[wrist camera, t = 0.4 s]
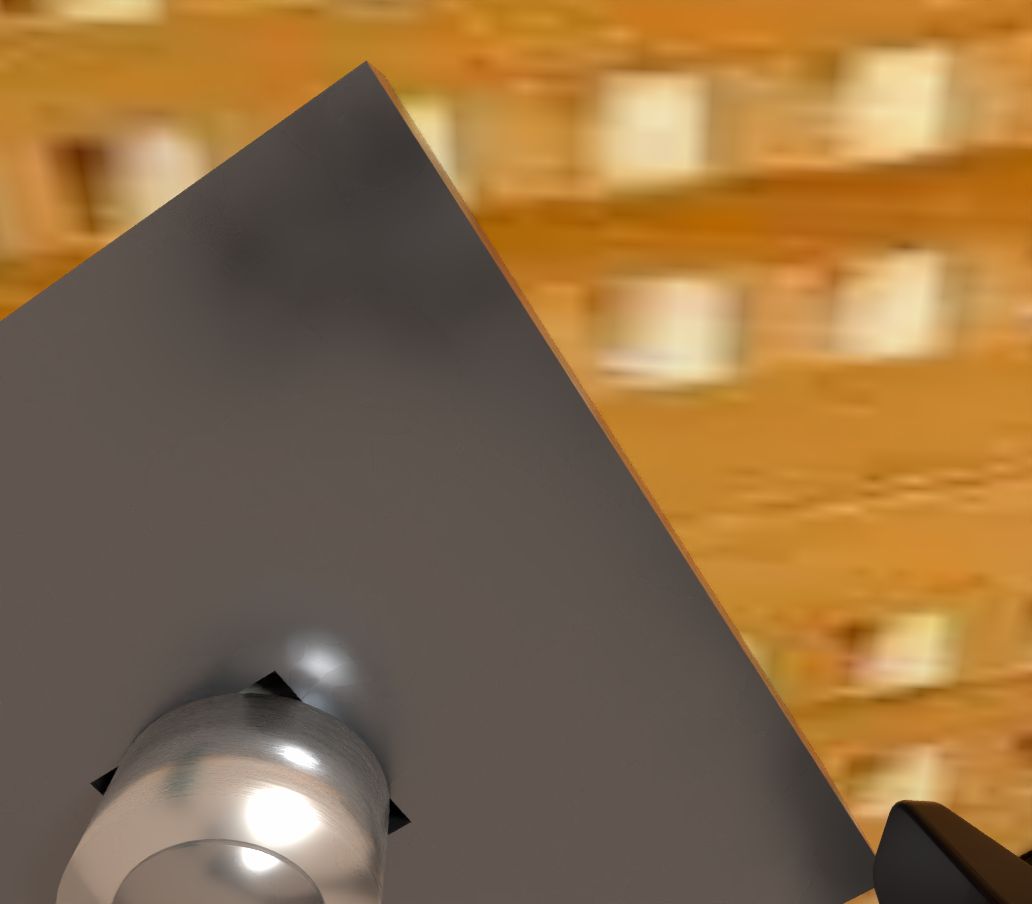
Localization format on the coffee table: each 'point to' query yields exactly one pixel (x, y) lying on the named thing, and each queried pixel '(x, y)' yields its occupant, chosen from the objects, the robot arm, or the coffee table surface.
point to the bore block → (375, 548)
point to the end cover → (238, 810)
